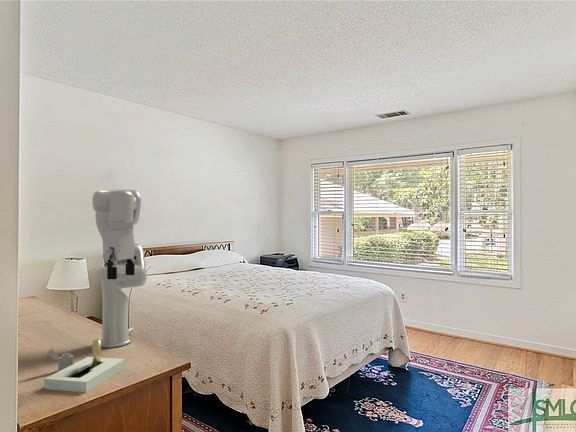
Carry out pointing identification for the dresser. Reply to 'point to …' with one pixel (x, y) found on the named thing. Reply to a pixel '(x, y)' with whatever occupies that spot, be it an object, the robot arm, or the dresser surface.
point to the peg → (96, 353)
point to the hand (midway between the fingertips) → (121, 277)
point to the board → (87, 381)
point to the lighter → (62, 359)
